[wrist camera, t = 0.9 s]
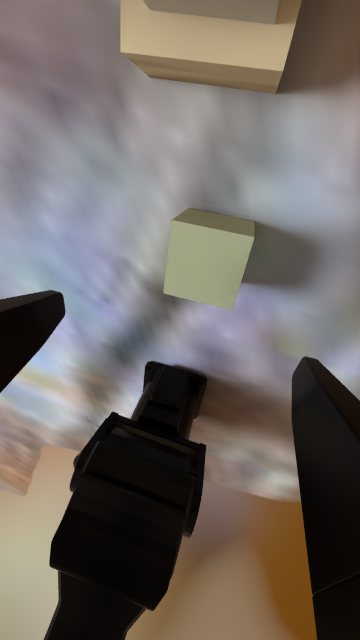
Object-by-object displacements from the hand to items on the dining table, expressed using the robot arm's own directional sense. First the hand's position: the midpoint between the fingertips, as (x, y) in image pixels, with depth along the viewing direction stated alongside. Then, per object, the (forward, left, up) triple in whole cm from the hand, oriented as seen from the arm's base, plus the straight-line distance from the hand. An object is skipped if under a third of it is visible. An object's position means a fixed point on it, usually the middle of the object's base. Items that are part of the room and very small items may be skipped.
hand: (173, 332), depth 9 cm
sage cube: (0, 0, -11) cm, 11 cm away
